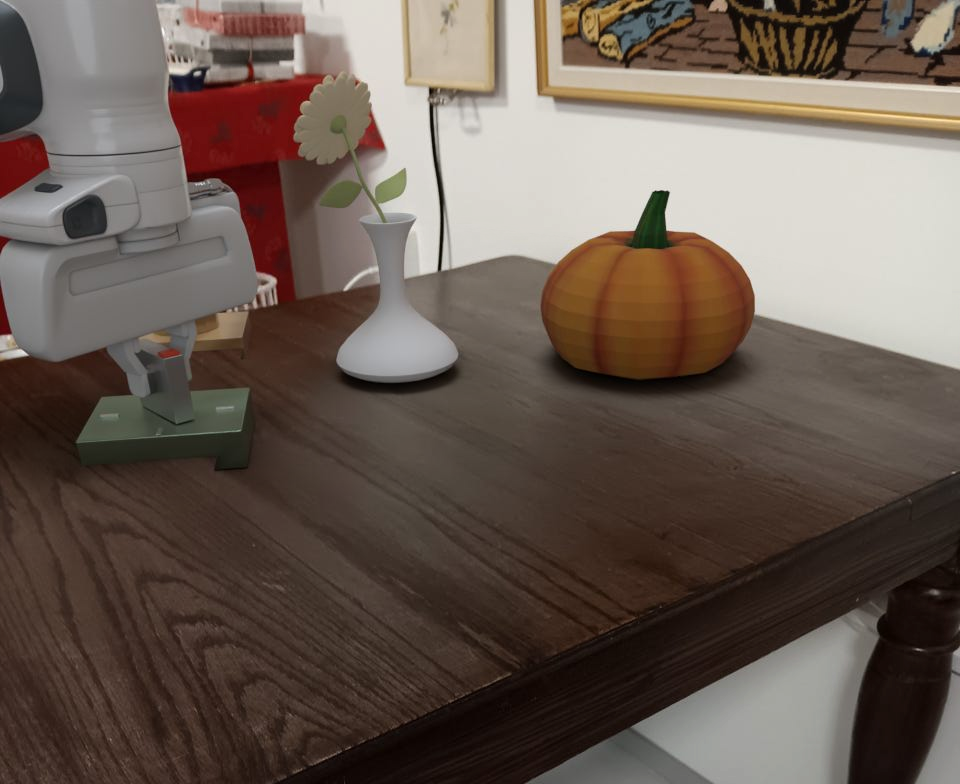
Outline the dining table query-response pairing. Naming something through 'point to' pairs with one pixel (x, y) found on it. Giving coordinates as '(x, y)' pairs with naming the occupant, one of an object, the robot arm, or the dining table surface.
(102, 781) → the dining table surface
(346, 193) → the flower in vase
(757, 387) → the dining table surface
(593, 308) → the pumpkin
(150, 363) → the grey panel
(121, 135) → the robot arm
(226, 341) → the button block
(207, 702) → the dining table surface
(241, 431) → the panel
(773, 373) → the dining table surface
